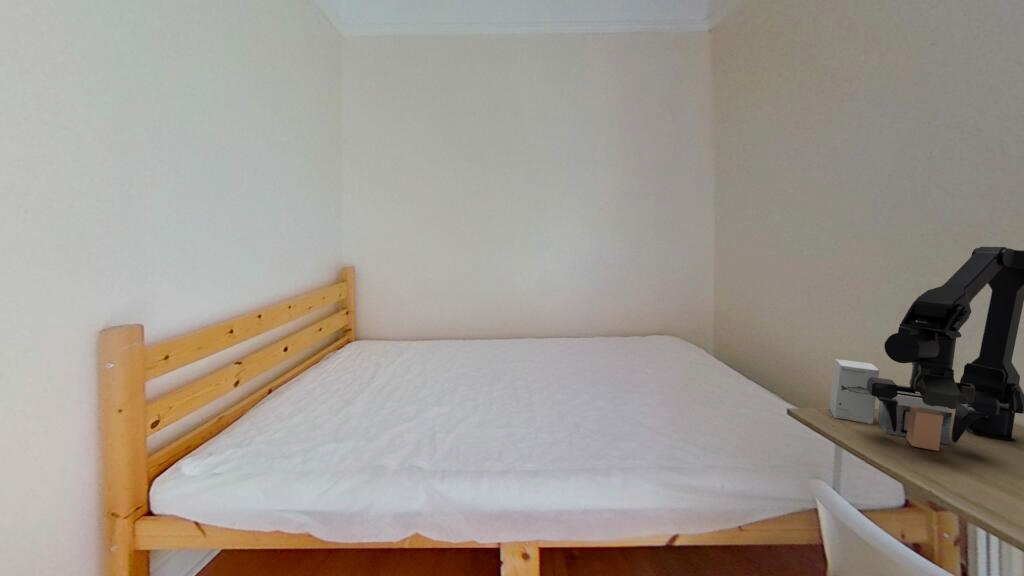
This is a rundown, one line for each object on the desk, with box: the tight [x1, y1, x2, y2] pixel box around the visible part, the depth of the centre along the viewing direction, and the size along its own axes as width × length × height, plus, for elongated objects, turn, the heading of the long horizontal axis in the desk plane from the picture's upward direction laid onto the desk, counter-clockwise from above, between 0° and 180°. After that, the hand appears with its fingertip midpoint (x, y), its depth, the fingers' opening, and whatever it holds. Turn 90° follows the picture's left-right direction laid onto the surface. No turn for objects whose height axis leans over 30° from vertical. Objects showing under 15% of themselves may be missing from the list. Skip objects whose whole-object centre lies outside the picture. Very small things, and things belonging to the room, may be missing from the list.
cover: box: [902, 406, 943, 452], centre depth 94 cm, size 4×12×7 cm, turn 151°
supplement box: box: [829, 358, 880, 425], centre depth 106 cm, size 7×7×13 cm
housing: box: [876, 395, 953, 445], centre depth 98 cm, size 10×8×7 cm
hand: (923, 436), depth 91 cm, fingers open, 9 cm apart
